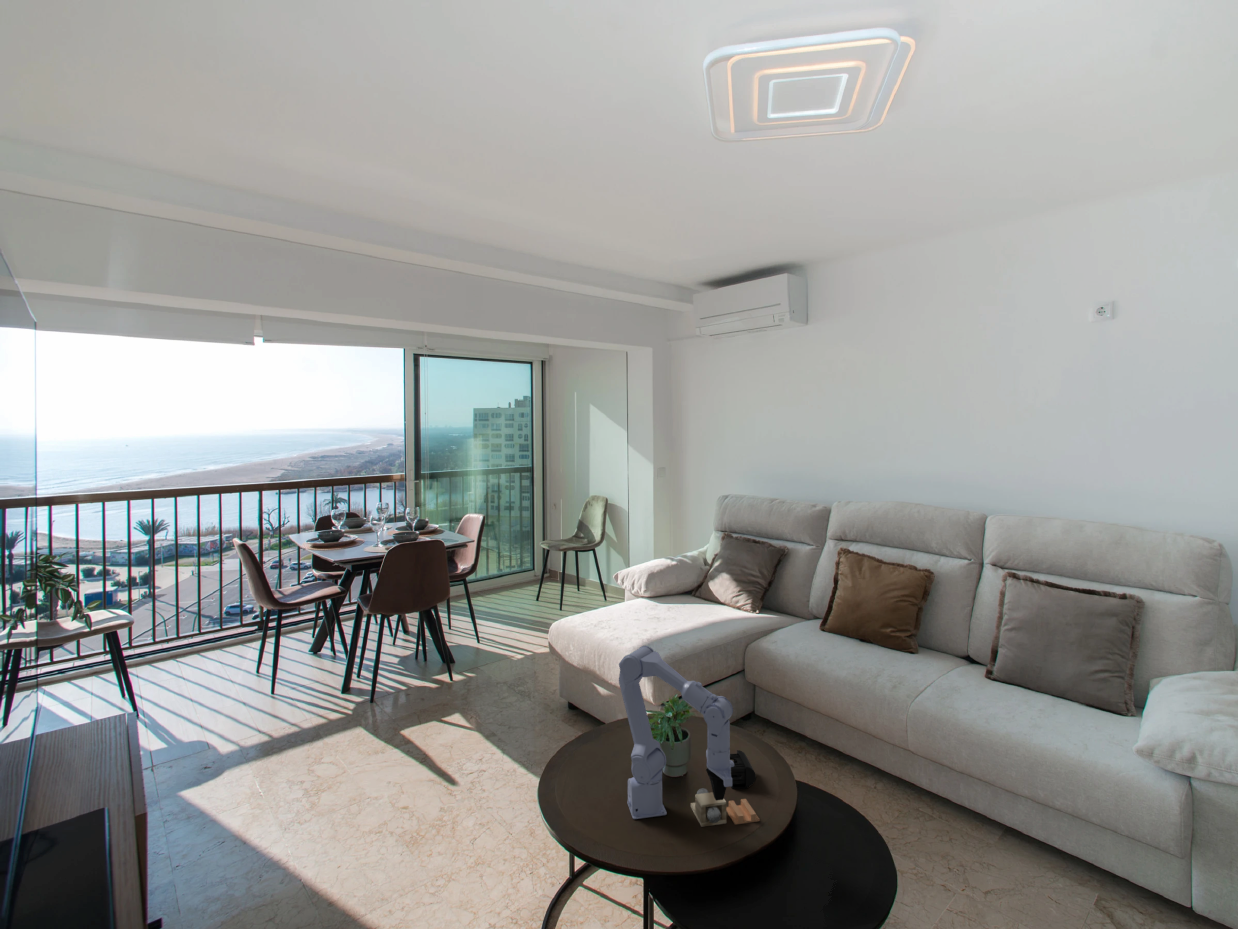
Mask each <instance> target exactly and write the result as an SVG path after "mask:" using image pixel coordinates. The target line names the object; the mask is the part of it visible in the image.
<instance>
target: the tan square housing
mask: <svg viewBox="0 0 1238 929" xmlns="http://www.w3.org/2000/svg"><path fill="white" fill-rule="evenodd" d="M694 795H695V796H694V800H695V801H694V802H690V809H691V810H692V811H693V814H694V816H695V817H696V819H697V821H698V823H699V825H700V827H703V828H704V827H710V826H715V825H716V826H717V825H723V824H724V825H725V824H727V811H726V807H727V801H726V799H725V798H724V799H723V800H717V801H716V800H715V798H714V795H713V791H710V792H709V793H702V794H694ZM709 806H717V808H718V809H719V811H720V813H721V819H720V820H719V821H718V822H717V823H711V822H710V821H709V819H708V818H707V816H706V807H709Z"/></svg>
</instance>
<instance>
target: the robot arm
mask: <svg viewBox="0 0 1238 929" xmlns="http://www.w3.org/2000/svg"><path fill="white" fill-rule="evenodd" d="M618 666H619V675H618V685H619V689H620V692H621V697H622V699H623V700H622V701H623V704H624V708H625V712H626V715H627V720H628V724H629V728H630V733H631V736H632V740H633V744H634V745H633V748H632V751H631V754H630V759H631V767H630V768H631V769H630V770H631V774H632V776H633V777H631V778H628V779H627V801H626V802H627V806H628V809H629V812H630V815H631V817H632V819H633V820H638V819H646V818H653V817H661V816H666V815H667V810H666V808H665V805H664V804H663V769H664V767H665V766H666V764H667V756H666V753H665V752H664V750H663V749H662V747H661V744H660V742H659V741H658V740H656V739H655V738H654V737H653V733H652V729H651V725H650V721H649V717H648V714H647V713H648V712H647V709H646V704H645V701H644V696H643V694H642V690H641V686H640V682H641V680H642V679H643V678H649V677H657V678H659V679H660V680H661V681H663V682H664V683H666V684H668V685H669V686H670V687H672V688H673V689H675V690H677V691H678V692H680V693H681V699H682V700H683V701H684V702H686V703H687V704H689V705H690V706H691V707H692V708H694V709H695V710H696V711H697V712H699V713H700V714H701V715H703V720H704V722H705V723H706V725H707V727H706V728H707V729H706V730H707V736H706V738H707V745H706V746H707V749H706V751H705V758H706V770H705V771H706V773H707V775H708V777H709V780H710V784H711V790H712V792H713V795H714V798H715V800H716V801H717V800H723V799H725V795H726V791H727V788H728V787H730V788H731V786H732V776H731V767H734V762H733V761H734V760H730V754H731V750H730V749H731V746H730V745H731V741H730V740H731V738H730V736H731V730H730V729H731V728H730V726H731V724H730V723H731V722H730V721H731V720H730V718H731V717H732V716H733V712H734V708H733V705H732V703H731V701H730V700H729V699H728V698H727V697H725V696H723V695H720V696H719V695H717V694H715V693H713V692H711V691H710V690H708V689H707V688H705V687H704V686H703V683H702V682H700V681H696V680H687V679H686V678H685V677H684V676H682V675H681V674H680V673H679V672H678V671H677V670H676V669H674V668H673V667H672V666H671V665H670V664H668V663H667V662H666V661H665V660H663V658H662V656H661V655H660V652H658V651H656V650H654V649H653V648H652V647H651V646H649V645H641V646H640V647H639V648H637V649H635V650H634V651H632V652H631V653H629V654H626V655H625V656H623V658H622V659H621V660H620V661H619V663H618Z"/></svg>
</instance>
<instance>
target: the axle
mask: <svg viewBox="0 0 1238 929" xmlns="http://www.w3.org/2000/svg"><path fill="white" fill-rule="evenodd" d="M702 793H710V792H709V790H708V789H707V788H704V787H703V788H699V789H698V790H697V791H696V794H702ZM706 816H707V818H708V819H709V821H710V822H711V823H717V822H718V821H719V820H720V819H721V813H720V811H719V809H718V808H717V806H709V807H706Z"/></svg>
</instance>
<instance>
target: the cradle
mask: <svg viewBox="0 0 1238 929" xmlns="http://www.w3.org/2000/svg"><path fill="white" fill-rule="evenodd" d="M726 814H728V816H729V817H730V819H731V820H732V822H733V824H734V825H741V824H748V823H754V822H756V823H757V822H760V821H761V820H760V818H759V816H758V815H757V813H756V811H755V810H754V808H753V807H752V806H751V805H750V803H749V801H748V800H747V798H741V799H740V804H739V805H737V804H736V802H735V800H728V806H726Z"/></svg>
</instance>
